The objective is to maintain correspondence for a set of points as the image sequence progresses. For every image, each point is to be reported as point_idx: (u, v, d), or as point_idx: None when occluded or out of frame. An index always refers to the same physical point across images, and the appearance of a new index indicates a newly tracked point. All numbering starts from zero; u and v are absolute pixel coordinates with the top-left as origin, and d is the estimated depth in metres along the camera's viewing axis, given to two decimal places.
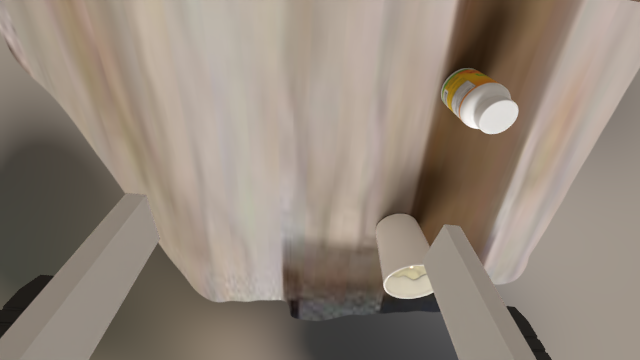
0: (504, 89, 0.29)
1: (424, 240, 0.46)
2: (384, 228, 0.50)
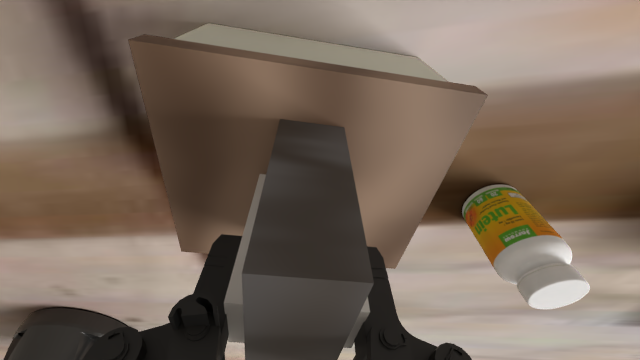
0: (513, 258, 0.20)
1: None
2: None
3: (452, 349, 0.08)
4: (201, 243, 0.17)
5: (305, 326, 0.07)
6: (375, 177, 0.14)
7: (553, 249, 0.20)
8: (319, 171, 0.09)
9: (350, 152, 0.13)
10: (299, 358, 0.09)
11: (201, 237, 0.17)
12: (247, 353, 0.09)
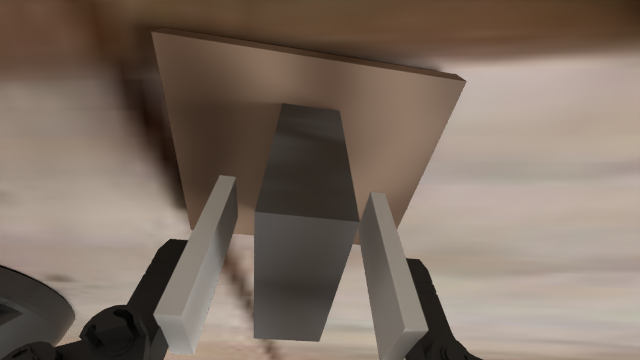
0: None
1: None
2: None
3: None
4: None
5: (304, 266, 0.09)
6: (368, 158, 0.16)
7: None
8: (317, 143, 0.11)
9: (345, 134, 0.15)
10: (300, 301, 0.10)
11: None
12: (256, 295, 0.10)
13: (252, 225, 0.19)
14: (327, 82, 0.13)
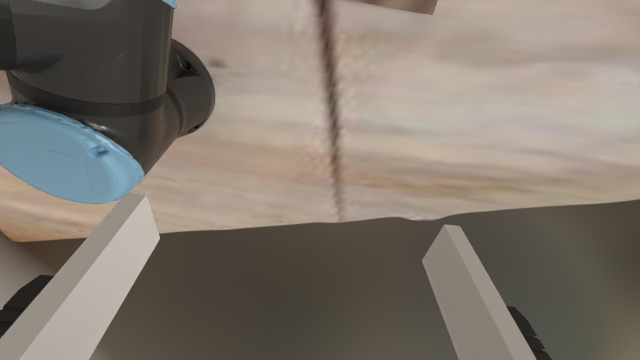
0: None
1: None
2: None
3: None
4: None
5: None
6: None
7: None
8: None
9: None
10: None
11: None
12: None
13: None
14: None
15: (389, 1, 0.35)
